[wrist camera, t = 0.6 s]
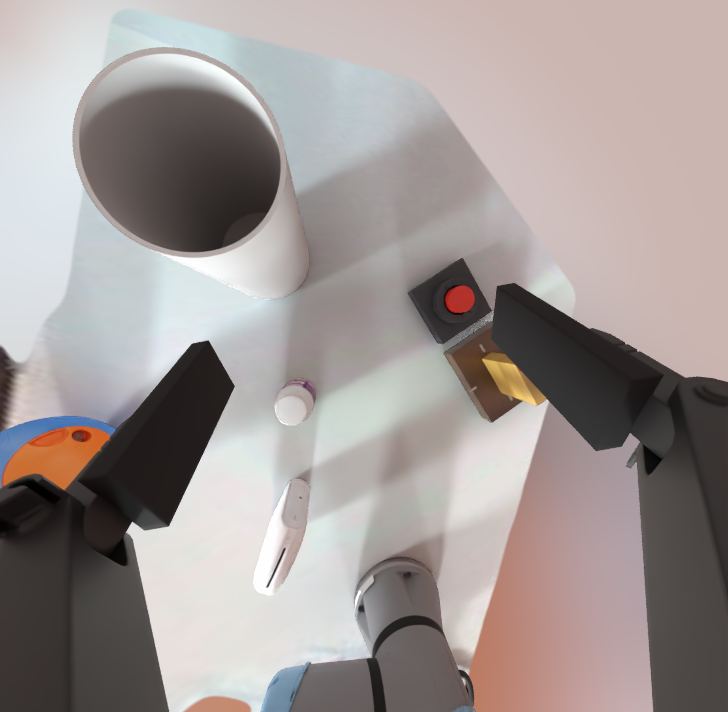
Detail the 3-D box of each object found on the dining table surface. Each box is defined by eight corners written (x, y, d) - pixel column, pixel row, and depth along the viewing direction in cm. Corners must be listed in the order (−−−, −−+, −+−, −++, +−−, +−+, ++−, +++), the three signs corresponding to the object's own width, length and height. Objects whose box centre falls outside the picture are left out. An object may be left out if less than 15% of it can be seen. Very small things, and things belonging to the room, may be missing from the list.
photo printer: (290, 473, 45) (276, 526, 33) (314, 482, 46) (309, 536, 34) (265, 529, 46) (242, 601, 33) (289, 536, 46) (276, 610, 34)
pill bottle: (304, 371, 44) (298, 382, 35) (322, 398, 45) (320, 415, 35) (275, 388, 44) (261, 404, 34) (293, 415, 45) (284, 438, 35)
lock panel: (528, 384, 50) (542, 388, 47) (479, 419, 49) (489, 425, 46) (492, 319, 48) (504, 318, 45) (440, 355, 47) (448, 356, 44)
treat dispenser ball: (20, 437, 40) (-169, 503, 25) (118, 383, 41) (-6, 414, 26) (88, 520, 42) (-48, 626, 27) (179, 466, 43) (98, 540, 28)
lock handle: (510, 386, 46) (550, 398, 38) (501, 393, 46) (538, 406, 38) (491, 352, 45) (527, 356, 37) (481, 358, 45) (515, 364, 37)
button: (473, 304, 43) (479, 303, 41) (452, 318, 43) (457, 317, 41) (460, 282, 43) (466, 280, 41) (440, 296, 42) (444, 294, 41)
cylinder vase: (210, 235, 41) (29, 86, 16) (288, 204, 42) (232, 20, 17) (248, 313, 42) (138, 287, 18) (322, 281, 43) (317, 216, 19)
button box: (484, 311, 47) (498, 310, 43) (437, 343, 47) (447, 344, 43) (456, 261, 46) (468, 254, 42) (407, 293, 45) (415, 289, 41)
